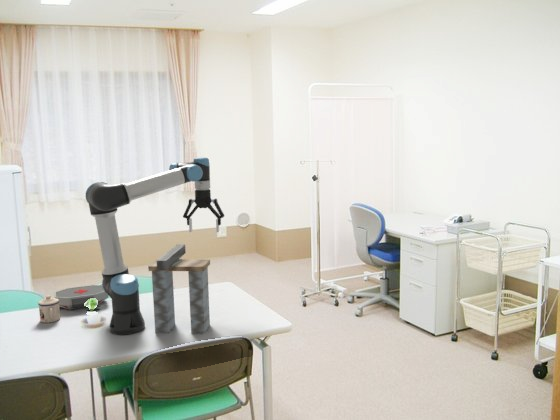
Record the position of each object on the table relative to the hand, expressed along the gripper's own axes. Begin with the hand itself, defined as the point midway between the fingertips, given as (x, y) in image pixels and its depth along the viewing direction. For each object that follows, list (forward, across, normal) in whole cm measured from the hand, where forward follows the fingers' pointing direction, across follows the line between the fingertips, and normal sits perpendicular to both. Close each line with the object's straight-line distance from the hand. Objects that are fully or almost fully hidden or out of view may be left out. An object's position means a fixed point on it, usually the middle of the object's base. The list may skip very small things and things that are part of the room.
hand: (204, 231), depth 267 cm
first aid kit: (+37, -63, -6) cm, 73 cm away
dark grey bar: (+6, -7, -33) cm, 34 cm away
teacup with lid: (+37, -68, -28) cm, 82 cm away
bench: (+37, -3, -35) cm, 51 cm away
